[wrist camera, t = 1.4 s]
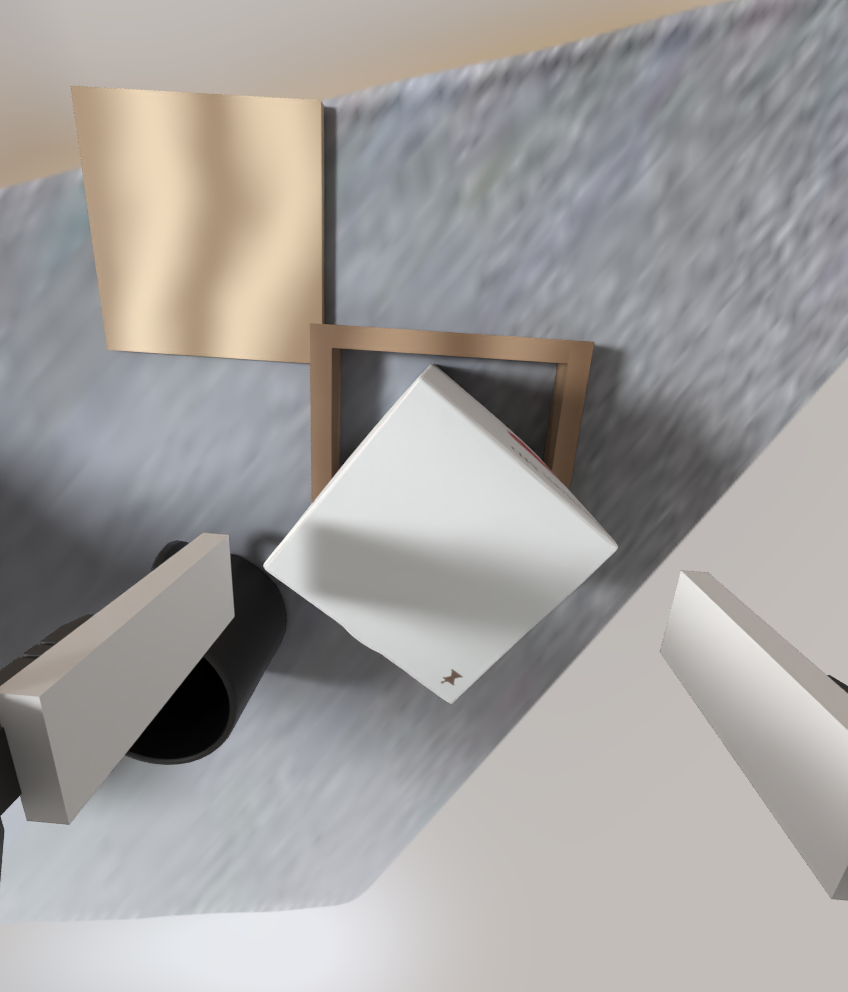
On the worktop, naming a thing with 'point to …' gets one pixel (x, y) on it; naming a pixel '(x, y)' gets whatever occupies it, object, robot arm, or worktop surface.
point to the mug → (217, 672)
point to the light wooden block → (205, 220)
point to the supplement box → (441, 539)
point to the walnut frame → (332, 338)
